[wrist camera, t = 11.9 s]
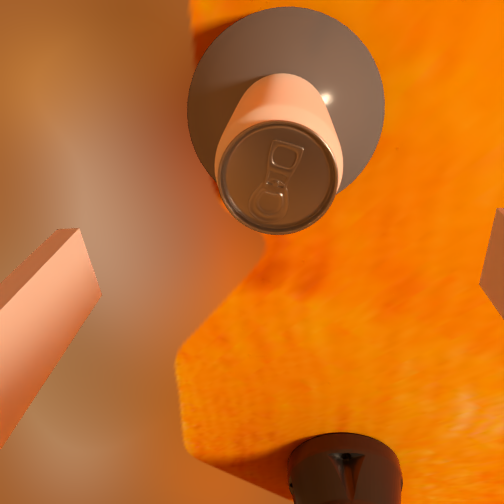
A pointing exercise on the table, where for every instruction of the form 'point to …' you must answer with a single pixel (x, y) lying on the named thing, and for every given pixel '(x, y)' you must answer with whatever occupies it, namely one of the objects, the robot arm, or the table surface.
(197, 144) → the stand
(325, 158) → the can
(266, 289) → the table surface
